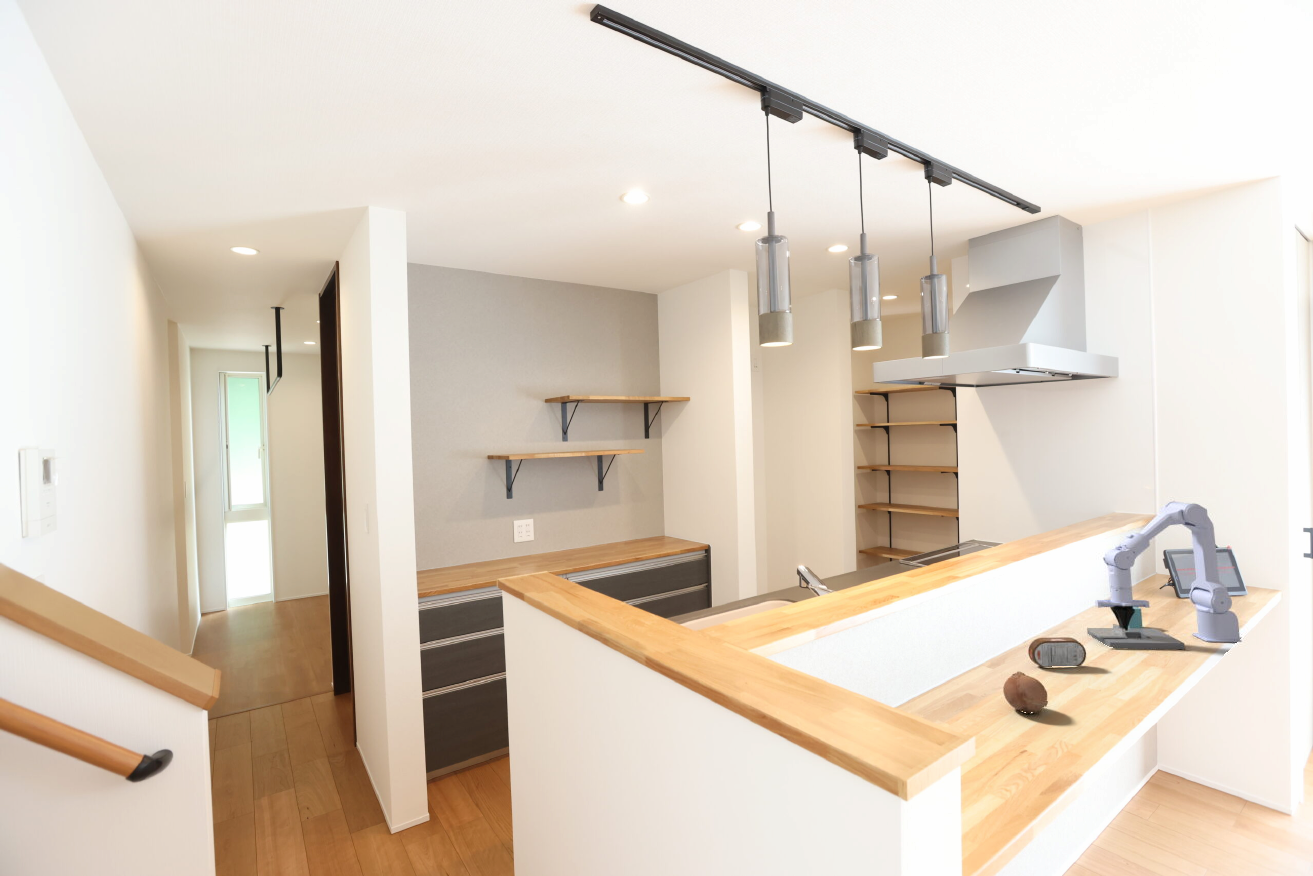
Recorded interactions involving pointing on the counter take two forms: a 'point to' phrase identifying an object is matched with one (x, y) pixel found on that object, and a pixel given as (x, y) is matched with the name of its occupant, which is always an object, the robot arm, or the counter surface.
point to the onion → (1025, 693)
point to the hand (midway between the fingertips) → (1123, 629)
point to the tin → (1057, 652)
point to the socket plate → (1147, 641)
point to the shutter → (1109, 632)
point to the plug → (1136, 619)
